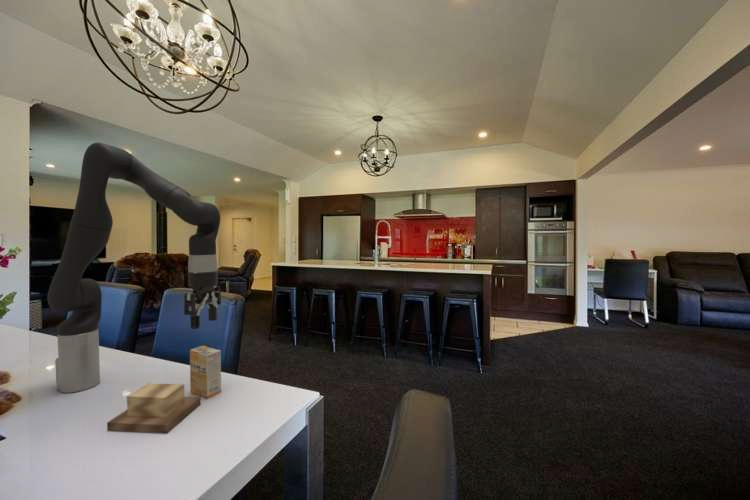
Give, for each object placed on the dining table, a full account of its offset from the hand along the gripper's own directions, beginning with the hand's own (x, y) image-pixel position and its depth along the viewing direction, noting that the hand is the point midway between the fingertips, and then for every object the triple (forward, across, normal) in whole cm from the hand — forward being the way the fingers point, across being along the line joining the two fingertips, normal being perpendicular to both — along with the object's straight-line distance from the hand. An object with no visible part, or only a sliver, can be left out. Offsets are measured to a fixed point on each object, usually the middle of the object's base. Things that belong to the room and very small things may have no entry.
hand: (204, 324), depth 94 cm
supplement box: (+21, 0, 0) cm, 21 cm away
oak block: (+19, +13, -5) cm, 23 cm away
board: (+21, +13, -5) cm, 25 cm away
